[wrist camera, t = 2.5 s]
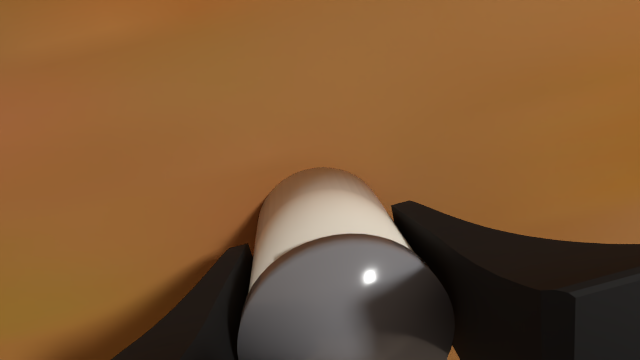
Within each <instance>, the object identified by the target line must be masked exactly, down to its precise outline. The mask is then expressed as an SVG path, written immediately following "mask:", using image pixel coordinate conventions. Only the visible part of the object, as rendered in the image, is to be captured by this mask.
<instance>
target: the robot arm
mask: <svg viewBox="0 0 640 360" xmlns="http://www.w3.org/2000/svg"><path fill="white" fill-rule="evenodd" d="M391 207H392V213H393V218H394V223H395V224H396V226H397V227H398V229H399V230H400V232H401V233H402V235H403V236H404V238H405V239H406V241H407V242H408V244H409V245H410V247H411V248H412V250H413V251H414V252H415V253H416V254H417V255H418V256H419V257H421V258H422V259H423V260H424V261H425V262H426V264H427V265H428V266H429V267H430V268H431V270H432V271H433V273H434V274H435V275H436V277H437V278H438V280H439V281H440V283H441V284H442V286H443V287H444V289H445V291H446V292H447V294H448V296H449V299H450V301H451V304H452V307H453V312H454V318H455V331H454V339H453V343H452V346H453V347H454V349H455V351H456V353H457V354H458V356H459V358H460V360H640V244H600V243H583V242H570V241H560V240H552V239H544V238H537V237H530V236H524V235H518V234H513V233H509V232H504V231H500V230H495V229H491V228H487V227H484V226H480V225H477V224H474V223H470V222H467V221H464V220H461V219H458V218H455V217H452V216H450V215H447V214H444V213H442V212H439V211H436V210H434V209H431V208H429V207H426V206H424V205H421V204H418V203H416V202H413V201H406V202H402V203H398V204H395V205H391ZM252 262H253V257H252V254H251V251H250V248H249V246H248V243H247V244H244V245H240V246H236V247H232V248H229V249H228V250H227V251H226V252H225V253H224V254H223V255H222V256H221V257H220V258H219V260H218V261H217V262H216V263H215V264H214V265H213V267H212V268H211V269H210V270H209V271H208V272H207V273H206V275H205V276H204V277H203V278H202V279H201V280H200V281H199V282H198V284H197V285H196V286H195V287H194V288H193V289H192V290H191V291H190V292H189V293H188V294H187V295H186V296H185V297H184V298H183V299H182V300H181V301H180V302H179V303H178V304H177V305H176V307H174V308H173V309H172V310H171V311H170V312H169V313H168V314H167V315H166V316H165V317H164V318H163V319H162V320H160V321H159V322H158V323H157V324H156V325H155V326H153V327H152V328H151V329H150V330H149V331H148V332H146V333H145V334H144V335H143V336H142V337H140V338H139V339H138V340H136V341H135V342H134V343H132V344H131V345H130V346H128V347H127V348H126V349H124V350H123V351H122V352H120V353H119V354H118V355H116V356H115V357H114V358H112V359H111V360H238V353H237V339H238V332H239V326H240V319H241V314H242V308H243V305H244V303H245V300H246V297H247V295H248V293H249V285H250V277H251V270H252Z"/></svg>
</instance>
